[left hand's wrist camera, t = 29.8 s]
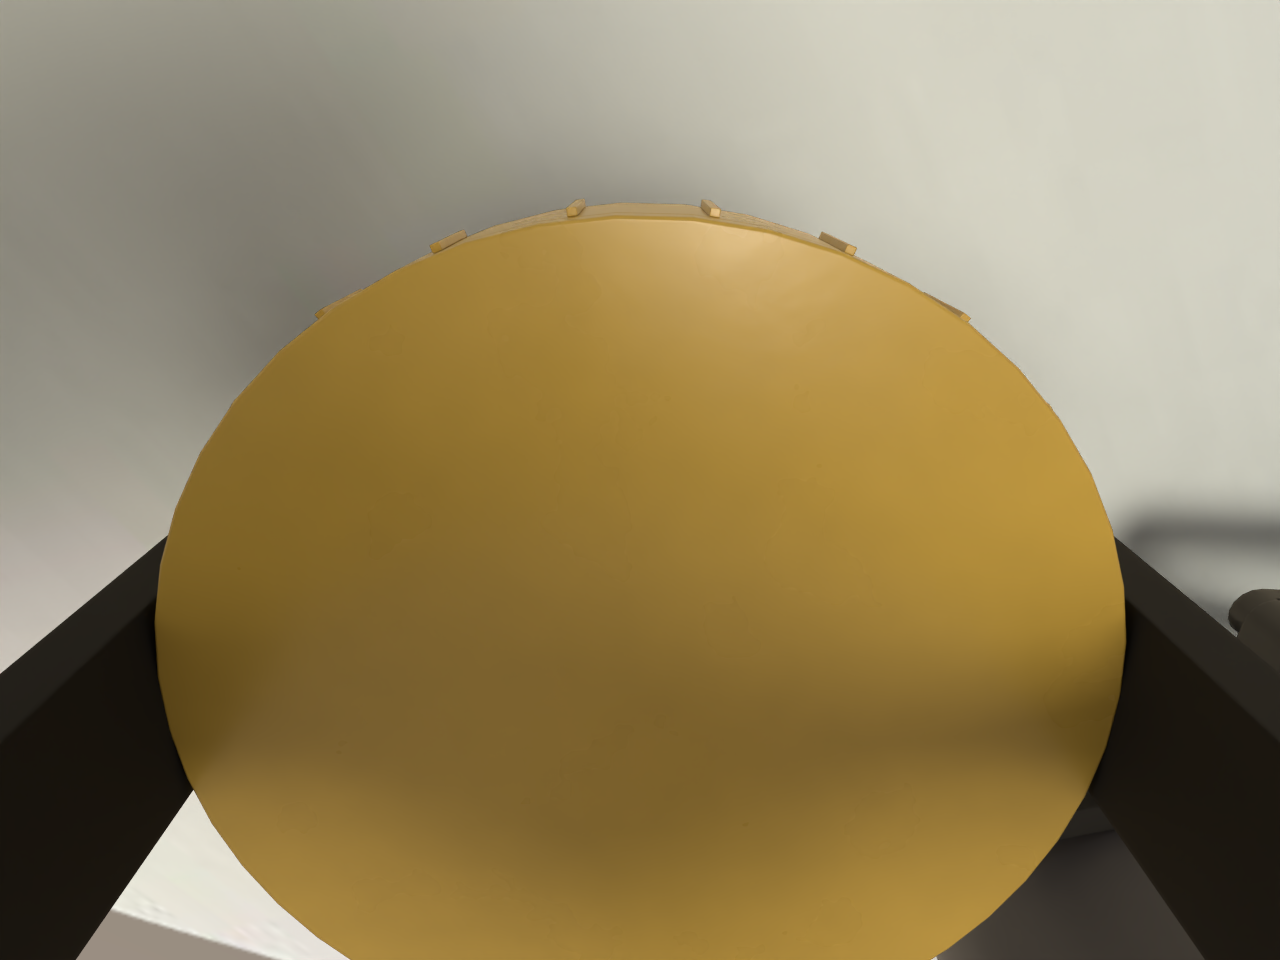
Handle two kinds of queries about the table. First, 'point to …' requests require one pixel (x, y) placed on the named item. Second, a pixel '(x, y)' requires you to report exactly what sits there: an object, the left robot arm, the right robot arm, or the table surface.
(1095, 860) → the jar
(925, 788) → the lid
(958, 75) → the table surface
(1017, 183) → the table surface
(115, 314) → the table surface
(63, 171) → the table surface
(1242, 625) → the right robot arm
